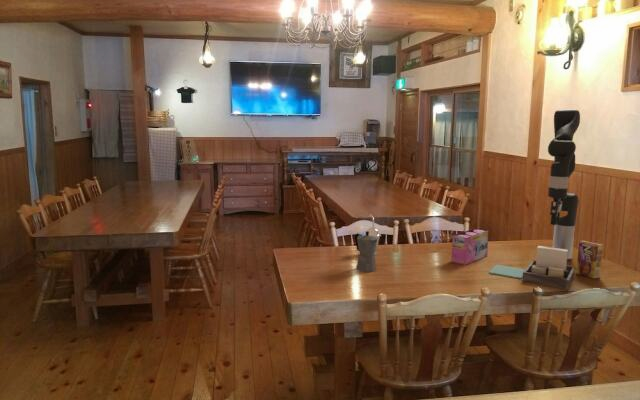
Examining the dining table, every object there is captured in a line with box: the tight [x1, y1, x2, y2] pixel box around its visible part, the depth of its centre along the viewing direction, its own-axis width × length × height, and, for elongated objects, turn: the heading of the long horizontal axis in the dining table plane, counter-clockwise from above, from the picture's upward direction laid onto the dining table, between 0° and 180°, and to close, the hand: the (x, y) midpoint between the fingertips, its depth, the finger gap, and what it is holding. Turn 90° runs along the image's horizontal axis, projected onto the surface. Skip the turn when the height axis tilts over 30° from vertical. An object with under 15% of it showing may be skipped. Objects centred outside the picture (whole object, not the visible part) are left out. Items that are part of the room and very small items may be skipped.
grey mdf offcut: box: [531, 265, 547, 275], centre depth 212 cm, size 4×6×6 cm
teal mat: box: [488, 264, 526, 280], centre depth 224 cm, size 14×14×1 cm
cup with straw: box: [364, 213, 382, 256], centre depth 251 cm, size 8×9×20 cm
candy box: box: [575, 240, 604, 279], centre depth 219 cm, size 9×4×15 cm, turn 29°
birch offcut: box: [548, 266, 565, 278], centre depth 209 cm, size 4×6×7 cm
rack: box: [521, 259, 575, 290], centre depth 214 cm, size 19×18×5 cm
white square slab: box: [535, 245, 568, 270], centre depth 217 cm, size 4×12×13 cm, turn 57°
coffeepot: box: [354, 230, 377, 273], centre depth 226 cm, size 15×9×18 cm, turn 33°
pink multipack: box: [451, 227, 489, 266], centre depth 245 cm, size 24×8×14 cm, turn 134°
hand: (554, 222), depth 214 cm, fingers open, 8 cm apart
